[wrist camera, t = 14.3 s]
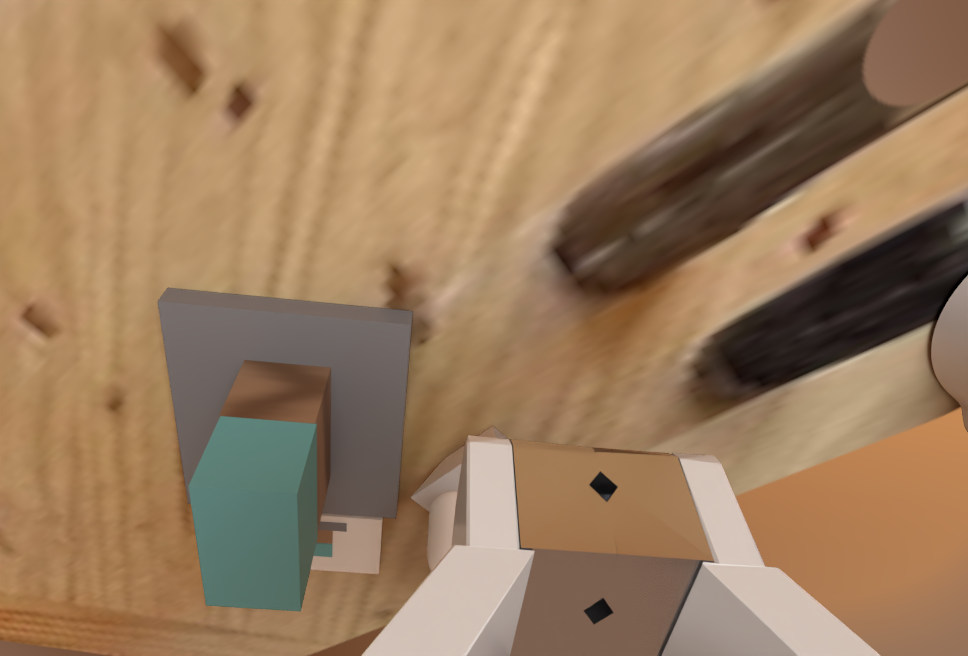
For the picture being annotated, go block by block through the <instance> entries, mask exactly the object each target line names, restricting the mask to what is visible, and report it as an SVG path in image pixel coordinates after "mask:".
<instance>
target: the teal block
mask: <svg viewBox="0 0 968 656" xmlns="http://www.w3.org/2000/svg"><path fill="white" fill-rule="evenodd" d="M189 492H190V499H191V506H192V513H193V520H194V527H195V533H196V540H197V547H198V554H199V561H200V568H201V575H202V581H203V588H204V595H205V602H206V606H222V607H238V608H254V609H270V610H286V611H301V608H302V603H303V599H304V595H305V590H306V586H307V582H308V577H309V573H310V569H311V564H312V560H313V556H314V551H315V547H316V543H317V538H318V526H317V424H311V423H299V422H287V421H275V420H262V419H250V418H238V417H226V416H220V418H219V420H218V423H217V425H216V427H215V429H214V431H213V433H212V436H211V438H210V440H209V442H208V444H207V447H206V449H205V451H204V453H203V455H202V457H201V460H200V462H199V464H198V466H197V468H196V471H195V473H194V475H193V477H192V479H191V481H190V484H189Z"/></svg>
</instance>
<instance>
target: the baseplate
mask: <svg viewBox="0 0 968 656" xmlns="http://www.w3.org/2000/svg"><path fill="white" fill-rule="evenodd" d="M158 307H159V314H160V320H161V327H162V333H163V340H164V347H165V353H166V360H167V367H168V373H169V380H170V387H171V393H172V400H173V406H174V413H175V420H176V426H177V433H178V440H179V446H180V453H181V460H182V466H183V473H184V479H185V486H186V493H187V499H188V504H191V499H190V492H189V484H190V481H191V479H192V477H193V475H194V473H195V471H196V468H197V466H198V464H199V462H200V460H201V457H202V455H203V453H204V451H205V449H206V447H207V444H208V442H209V440H210V438H211V436H212V433H213V431H214V429H215V427H216V425H217V423H218V420H219V414H220V412H221V410H222V408H223V406H224V403H225V401H226V399H227V397H228V395H229V393H230V390H231V388H232V386H233V384H234V382H235V380H236V377H237V375H238V373H239V371H240V369H241V367H242V364H243V362H244V360H252V361H263V362H275V363H286V364H297V365H308V366H320V367H331V456H330V481H329V485H328V490H327V494H326V498H325V502H324V507H323V511H322V513H326V514H340V515H353V516H367V517H381V518H395V519H396V514H397V506H398V495H399V482H400V470H401V457H402V444H403V432H404V419H405V406H406V394H407V381H408V368H409V356H410V343H411V331H412V318H413V311H405V310H395V309H384V308H374V307H363V306H353V305H342V304H332V303H322V302H311V301H301V300H290V299H280V298H269V297H259V296H248V295H238V294H227V293H217V292H206V291H196V290H186V289H175V288H167V289H166V290H165V292H164V293H163V295H162V296H161V297H160V299H159V300H158Z"/></svg>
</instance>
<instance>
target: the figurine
mask: <svg viewBox="0 0 968 656" xmlns="http://www.w3.org/2000/svg"><path fill="white" fill-rule="evenodd" d="M479 436H480V437H489V438H499V439H508V438H506V437H505V436H504V435H503V434H502V433H501V432H499V431H498V430H497V429H496V428H495V427H494V426H492V427H490V428H489V429H487V430H486V431H485V432H483V433H482V434H480V435H479ZM508 440H509V439H508ZM509 441H510V440H509ZM463 452H464V446H462V447H461V448H459V449H458V450H456V451H455V452H453V453H452V454H450V455H449V456H447V457H446V458H445V459H444V460H443V461H442V462H441V463H440V464H439V465H438V467H437V468H436V469H435V470H434V471H433V472H432V473H431V475H430V476H429V477H428V478H427V479H426V480H425V481H424V483H423V484H422V485H421V486H420V487H419V488H418V489H417V491H416V492H415V493H414V494H413V495H412V496H411V497H410V498H411V499H412V500H414V501H415V502H416V503H418V504H419V505H420V506H422V507H423V508H424V509H426V510H427V511H429V525H428V540H427V560H428V565H429V568H430V571H432V570H433V569H434V567H435V566H436V565H437V564H438V563H439V561H440V560H441V559H442V558H443V556H444V555H445V554H446V553H447V552H448V550H449V549H450V548H451V547H452V536H453V526H454V517H455V507H456V499H457V492H458V485H459V479H460V472H461V465H462V459H463Z"/></svg>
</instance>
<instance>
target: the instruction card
mask: <svg viewBox="0 0 968 656" xmlns="http://www.w3.org/2000/svg"><path fill="white" fill-rule="evenodd" d="M382 521H383V518H381V517H367V516H353V515H340V514H326V513H322V515H321V520H320V524H319V528H318V538H317V543H316V547H315V551H314V556H313V560H312V564H311V569H310V570H322V571H337V572H352V573H367V574H379V568H380V553H381V537H382Z"/></svg>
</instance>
